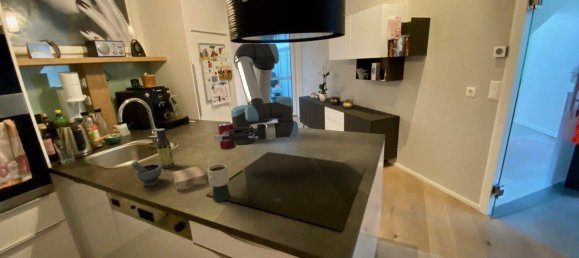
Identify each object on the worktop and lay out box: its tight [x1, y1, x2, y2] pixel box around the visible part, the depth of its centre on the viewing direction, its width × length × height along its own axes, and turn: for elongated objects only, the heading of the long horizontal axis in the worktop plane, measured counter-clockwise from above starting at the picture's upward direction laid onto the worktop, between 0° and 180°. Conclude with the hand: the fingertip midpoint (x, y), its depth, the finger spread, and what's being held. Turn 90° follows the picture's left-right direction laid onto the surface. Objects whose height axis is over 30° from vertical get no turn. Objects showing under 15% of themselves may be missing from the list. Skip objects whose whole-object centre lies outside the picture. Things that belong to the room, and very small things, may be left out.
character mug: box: [207, 163, 231, 202], centre depth 90 cm, size 11×7×13 cm, turn 161°
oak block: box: [171, 165, 208, 192], centre depth 105 cm, size 12×12×4 cm
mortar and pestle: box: [130, 160, 162, 187], centre depth 105 cm, size 11×9×12 cm
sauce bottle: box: [155, 128, 175, 169], centre depth 121 cm, size 6×6×20 cm
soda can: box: [217, 121, 237, 151], centre depth 111 cm, size 7×7×12 cm
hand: (216, 135), depth 110 cm, fingers closed on soda can, 7 cm apart
